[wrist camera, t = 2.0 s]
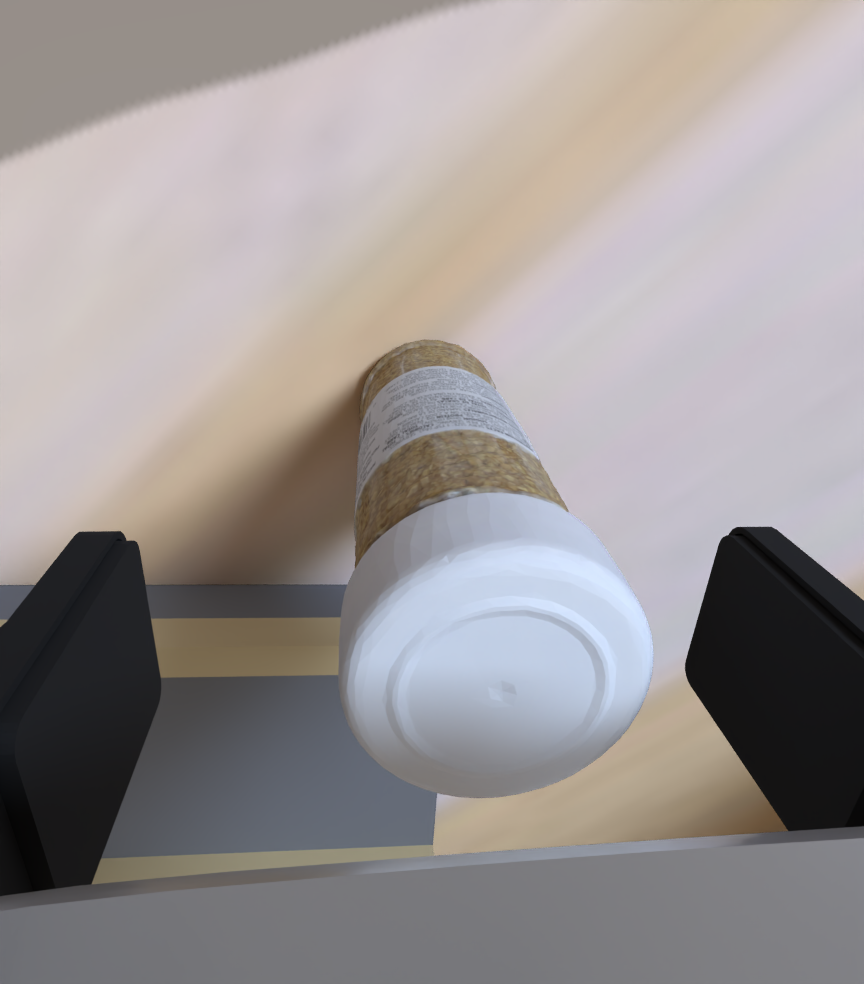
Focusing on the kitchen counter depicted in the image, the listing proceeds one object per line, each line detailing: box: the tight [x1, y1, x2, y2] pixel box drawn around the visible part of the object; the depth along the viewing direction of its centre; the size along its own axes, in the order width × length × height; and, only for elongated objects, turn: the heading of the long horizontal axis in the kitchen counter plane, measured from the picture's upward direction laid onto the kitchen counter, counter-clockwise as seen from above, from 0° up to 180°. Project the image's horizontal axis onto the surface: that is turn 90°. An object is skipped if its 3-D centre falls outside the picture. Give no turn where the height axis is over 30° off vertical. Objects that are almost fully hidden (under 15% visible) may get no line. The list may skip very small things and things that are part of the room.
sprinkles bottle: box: [338, 340, 653, 798], centre depth 15 cm, size 5×5×14 cm
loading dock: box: [0, 585, 437, 884], centre depth 24 cm, size 18×13×4 cm
